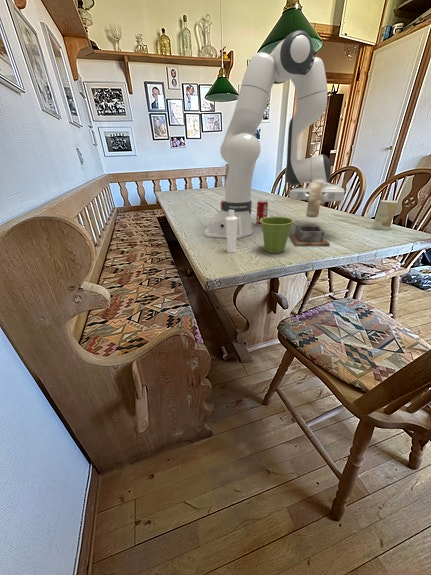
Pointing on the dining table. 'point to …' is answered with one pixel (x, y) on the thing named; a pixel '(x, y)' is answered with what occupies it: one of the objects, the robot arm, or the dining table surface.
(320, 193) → the birch peg
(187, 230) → the dining table surface
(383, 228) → the skincare box
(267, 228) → the plant pot
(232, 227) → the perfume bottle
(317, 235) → the bottle holder
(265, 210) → the soda can
